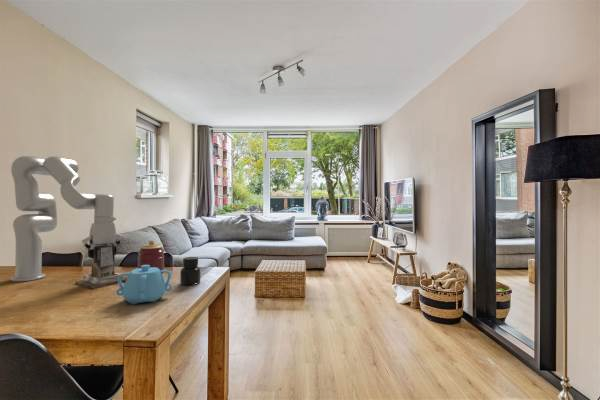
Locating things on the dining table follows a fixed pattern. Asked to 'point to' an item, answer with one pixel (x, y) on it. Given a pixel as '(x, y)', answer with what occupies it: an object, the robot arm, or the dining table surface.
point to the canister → (151, 255)
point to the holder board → (99, 281)
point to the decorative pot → (144, 285)
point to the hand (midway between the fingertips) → (102, 256)
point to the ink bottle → (190, 271)
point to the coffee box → (103, 261)
